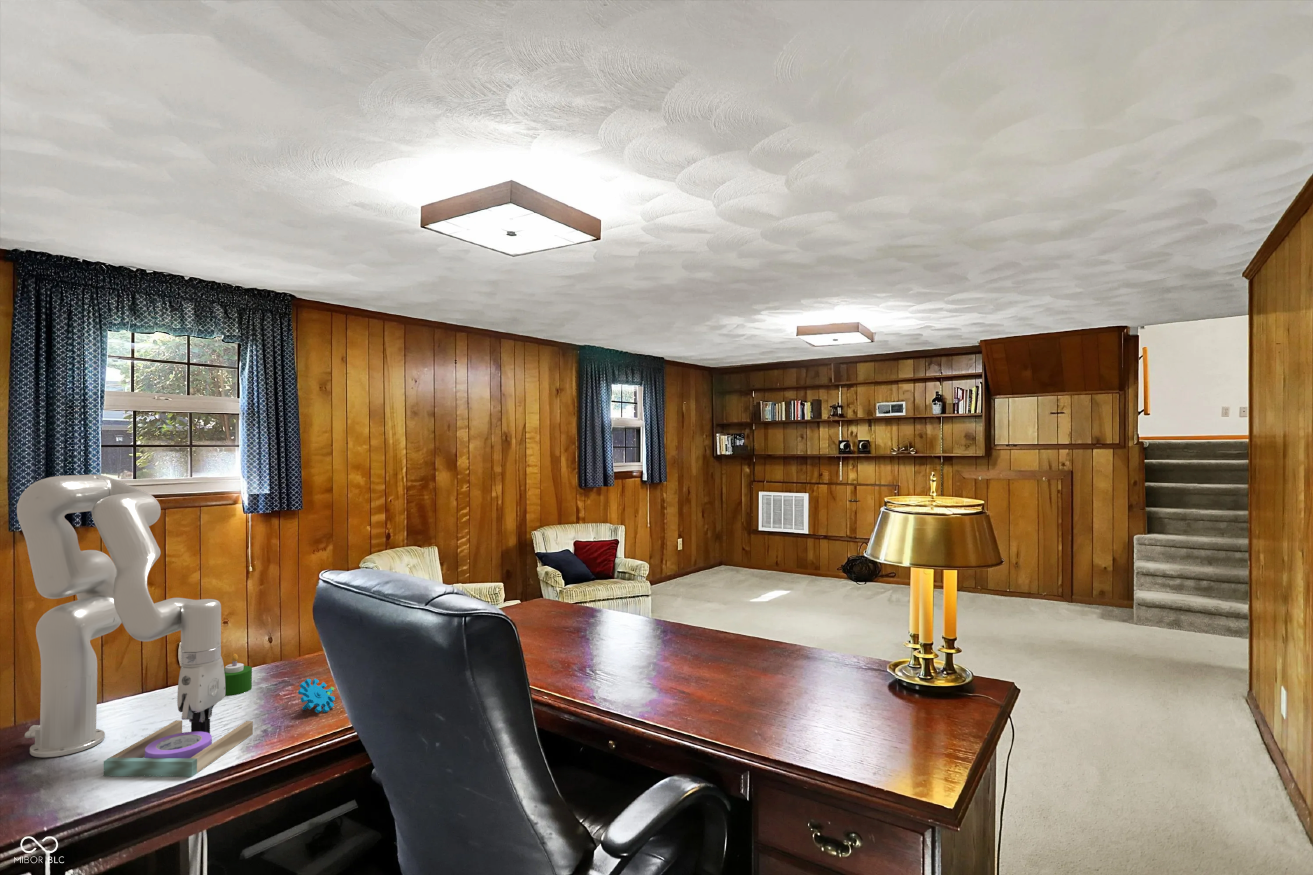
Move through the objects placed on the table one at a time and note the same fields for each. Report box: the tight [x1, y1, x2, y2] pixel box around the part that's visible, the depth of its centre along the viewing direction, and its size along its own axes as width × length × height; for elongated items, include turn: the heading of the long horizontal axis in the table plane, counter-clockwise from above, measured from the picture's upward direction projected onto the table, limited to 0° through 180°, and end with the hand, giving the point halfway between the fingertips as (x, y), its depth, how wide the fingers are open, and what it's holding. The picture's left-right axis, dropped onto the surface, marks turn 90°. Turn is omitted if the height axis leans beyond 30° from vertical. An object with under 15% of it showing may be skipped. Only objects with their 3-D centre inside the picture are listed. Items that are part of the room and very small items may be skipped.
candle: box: [224, 653, 253, 697], centre depth 186 cm, size 8×8×10 cm
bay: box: [102, 719, 254, 778], centre depth 148 cm, size 18×20×3 cm
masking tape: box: [144, 731, 213, 758], centre depth 145 cm, size 12×12×4 cm
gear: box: [297, 678, 336, 714], centre depth 173 cm, size 11×6×10 cm
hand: (200, 737), depth 153 cm, fingers closed
